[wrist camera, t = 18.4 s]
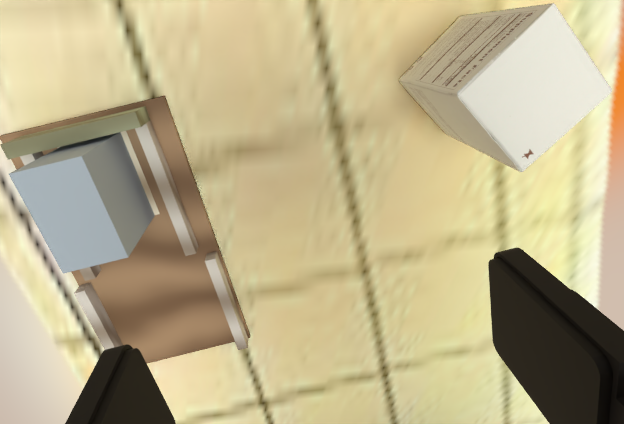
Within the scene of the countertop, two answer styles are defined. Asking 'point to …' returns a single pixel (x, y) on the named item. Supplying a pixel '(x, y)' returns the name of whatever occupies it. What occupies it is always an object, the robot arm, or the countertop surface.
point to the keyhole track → (150, 242)
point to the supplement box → (507, 82)
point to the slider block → (86, 201)
